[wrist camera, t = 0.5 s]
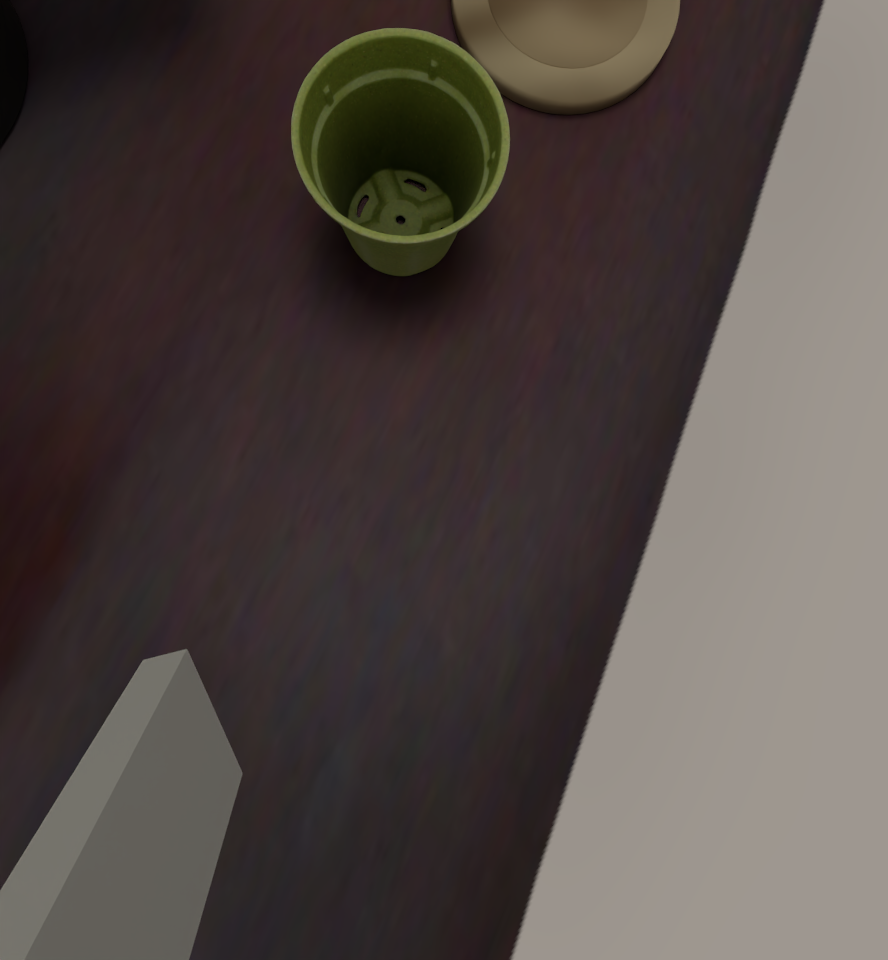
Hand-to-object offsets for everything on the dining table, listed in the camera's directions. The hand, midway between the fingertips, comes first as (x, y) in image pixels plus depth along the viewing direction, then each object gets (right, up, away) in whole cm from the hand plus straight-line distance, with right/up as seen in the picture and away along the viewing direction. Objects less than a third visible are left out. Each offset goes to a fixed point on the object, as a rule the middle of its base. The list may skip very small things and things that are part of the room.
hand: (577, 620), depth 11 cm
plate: (+5, +30, +26) cm, 40 cm away
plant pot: (-5, +17, +25) cm, 30 cm away
